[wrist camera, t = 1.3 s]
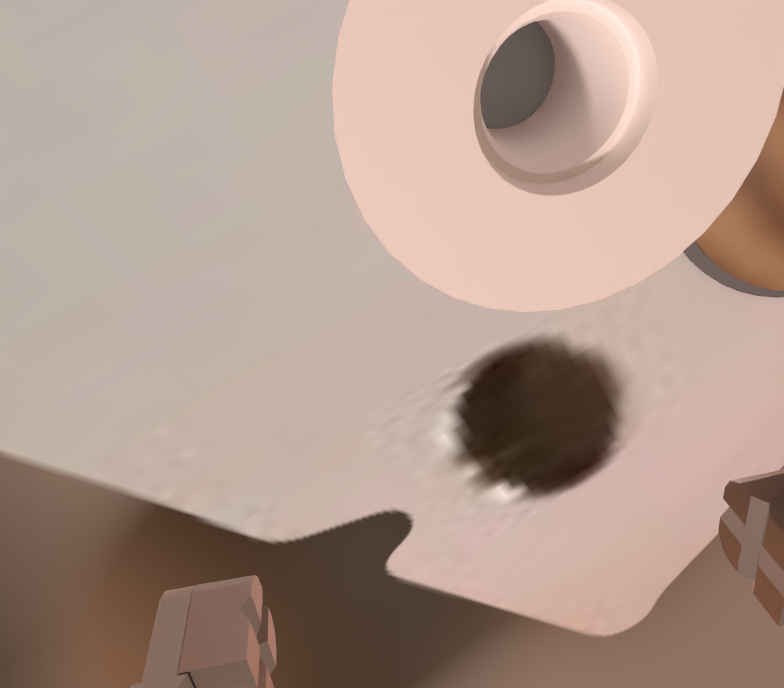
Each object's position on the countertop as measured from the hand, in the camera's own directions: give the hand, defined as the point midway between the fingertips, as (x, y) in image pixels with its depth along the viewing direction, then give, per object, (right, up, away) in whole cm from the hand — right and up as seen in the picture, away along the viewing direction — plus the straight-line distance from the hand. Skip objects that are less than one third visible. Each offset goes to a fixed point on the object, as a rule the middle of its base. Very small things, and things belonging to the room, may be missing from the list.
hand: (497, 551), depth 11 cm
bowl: (+6, +22, +33) cm, 40 cm away
